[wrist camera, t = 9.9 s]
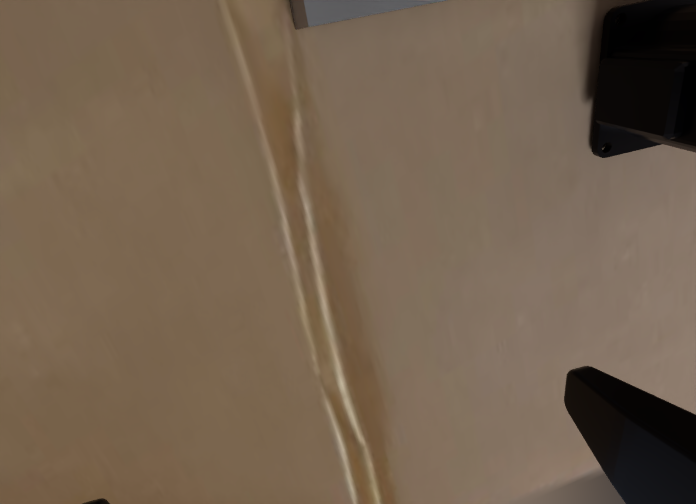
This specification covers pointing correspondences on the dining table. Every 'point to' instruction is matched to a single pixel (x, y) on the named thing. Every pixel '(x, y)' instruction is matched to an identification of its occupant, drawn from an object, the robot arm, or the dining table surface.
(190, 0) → the dining table surface
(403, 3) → the block with square hole
